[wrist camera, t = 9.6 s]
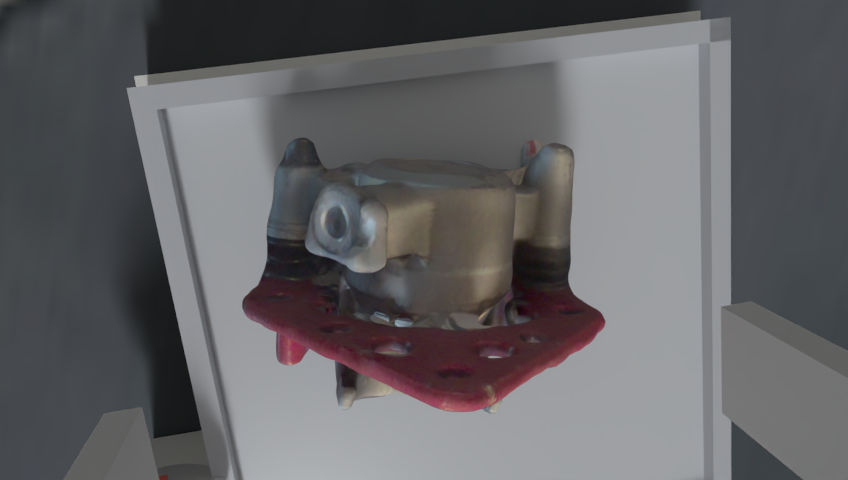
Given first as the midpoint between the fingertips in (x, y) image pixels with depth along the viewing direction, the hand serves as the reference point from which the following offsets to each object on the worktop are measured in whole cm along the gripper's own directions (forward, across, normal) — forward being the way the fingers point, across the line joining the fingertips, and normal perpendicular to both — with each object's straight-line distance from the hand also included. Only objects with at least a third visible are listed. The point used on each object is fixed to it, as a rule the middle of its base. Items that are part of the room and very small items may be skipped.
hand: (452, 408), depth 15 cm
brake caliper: (+12, +1, 0) cm, 12 cm away
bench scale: (+15, +1, -3) cm, 16 cm away
